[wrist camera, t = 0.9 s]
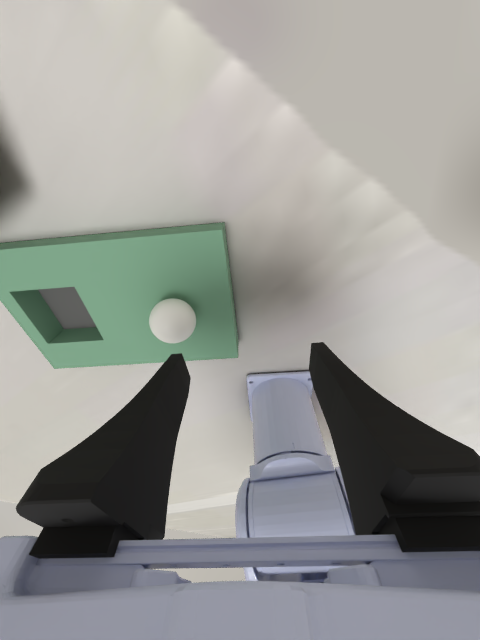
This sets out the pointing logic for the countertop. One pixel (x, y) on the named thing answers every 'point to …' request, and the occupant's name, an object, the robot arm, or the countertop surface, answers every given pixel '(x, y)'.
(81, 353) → the green
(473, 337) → the countertop surface
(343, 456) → the robot arm
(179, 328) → the ball
